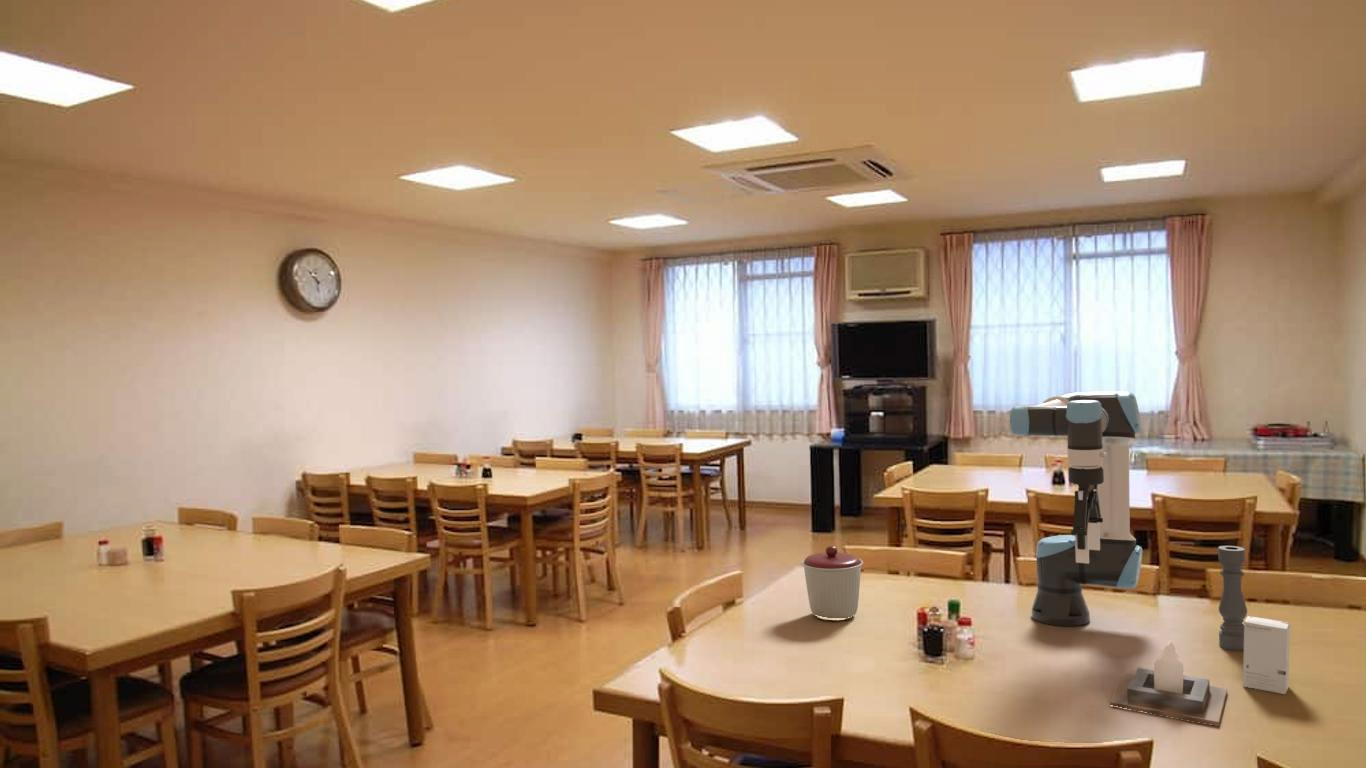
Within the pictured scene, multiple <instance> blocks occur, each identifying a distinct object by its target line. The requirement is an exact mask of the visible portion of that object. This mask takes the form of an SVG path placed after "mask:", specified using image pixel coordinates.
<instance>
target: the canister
mask: <svg viewBox="0 0 1366 768" xmlns="http://www.w3.org/2000/svg"><path fill="white" fill-rule="evenodd" d="M800 563H801V566H803V570H804V571H803V572H804V577H805V586H806V589H807V590H806V591H807V598H808V603H809V608H810V611H811V613H812V615H813V614H815V615H818V616H822V617H827V618H848V617H851V616H853V615H854V616H855V615H857V612H858V608H859V607H858V606H859V600H860V599H859V598H860V586H861V583H860V582H861V570H862V566H863V564H864V561H863V560H862V559H861V558H859V557H858V556H856V555H854V554H852V553H847V552H841V551H838V547H836V546H834V545H828V546H827V547H826V548H825V551H824V552H818V553H814V554H810V555H808V556H806V558H803V559H802V560H801V562H800ZM854 616H853V617H854Z"/></svg>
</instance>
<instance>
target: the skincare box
mask: <svg viewBox="0 0 1366 768" xmlns="http://www.w3.org/2000/svg"><path fill="white" fill-rule="evenodd" d="M1243 625H1244V651H1243V657H1242V658H1243V662H1242V663H1243V666H1242V686H1243V687H1244V688H1247V687H1248V689H1253V688H1254V689H1253V690H1259V691H1264V692H1265V691H1266V692H1271V693H1275V694H1279V695H1286V693H1287V691H1288V689H1289V686H1290V685H1289V683H1290V681H1289V680H1290V679H1289V678H1290V677H1289V676H1290V675H1289V674H1290V673H1289V672H1290V640H1291V639H1290V636H1291V635H1290V633H1291V632H1290V631H1291V624H1290V622H1285V621H1281V620H1274V619H1270V618H1263V617H1257V616H1256V617H1255V616H1249V615H1248V616H1247V615H1246V617H1245V619H1244V621H1243Z"/></svg>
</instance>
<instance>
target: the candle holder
mask: <svg viewBox="0 0 1366 768" xmlns="http://www.w3.org/2000/svg"><path fill="white" fill-rule="evenodd" d="M1217 550H1218V553H1217V554H1218V561H1219V564H1220V565H1221V567H1222V569H1221V570H1220V571H1219V574H1220V575H1221V576H1222V577H1223V578H1222V580H1223V581H1222V583H1223V587H1222V593H1221V598H1220V601H1219V605H1218V611H1219V614H1220V615H1221V617H1222V620H1223V622H1222V624H1220V626H1219V628H1220V630H1219V632H1218V636H1219V638H1218V641H1219V643H1218V644H1219V647H1220V648H1222V649H1225V650H1228V651H1235V650H1236V651H1237V652H1244V651H1243V650H1244V622H1245V619H1246V618H1247V615H1248V608H1247V605H1246V601H1245V597H1244V594H1243V591H1242V578H1243V577H1244V576H1245V572H1243V570H1242V568H1243V567H1244V565H1245V563H1246V552H1245V551H1246V550H1245V548H1244V547H1241V546H1235V545H1219V546H1218V549H1217Z"/></svg>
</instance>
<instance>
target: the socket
mask: <svg viewBox="0 0 1366 768" xmlns="http://www.w3.org/2000/svg"><path fill="white" fill-rule="evenodd" d="M1226 694H1227V695H1228V688H1224V687H1219V686H1213V685H1211V684H1210V679H1209V678H1203V677H1197V676H1189V675H1184V674H1183V694H1181V693H1175V692H1169V691H1163V690H1157V689H1154V669H1147V668H1139V667H1137V669H1136V671H1135V673H1132V672H1127V671H1126V672H1125V674H1124V675H1123V678H1122V679H1121V681H1120V682H1119V685H1117V688H1116V690H1115V692H1114V693H1113V695H1112V697H1111V699H1110V701H1109V706H1110V705H1113V706H1118V707H1122V708H1127V709H1131V710H1136V711H1143V712H1147V713H1152V714H1156V715H1155V716H1157V715H1162V716H1161V717H1163V716H1168V717H1173V718H1172V719H1174V718H1178V719H1177V720H1179V719H1183V720H1182V721H1184V720H1189V721H1188V722H1190V721H1194V722H1193V723H1195V722H1200V723H1199V724H1201V723H1206V724H1212V725H1217V726H1220V723H1221V719H1222V715H1221V714H1223V711H1224V707H1225V703H1226V699H1227V695H1226ZM1225 698H1226V699H1225ZM1224 702H1225V703H1224ZM1223 706H1224V707H1223ZM1131 710H1130V711H1131ZM1222 710H1223V711H1222ZM1136 711H1135V712H1136ZM1147 713H1146V714H1147ZM1152 714H1151V715H1152ZM1168 717H1167V718H1168ZM1220 718H1221V719H1220ZM1219 722H1220V723H1219ZM1206 724H1205V725H1206ZM1217 726H1216V727H1217Z"/></svg>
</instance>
